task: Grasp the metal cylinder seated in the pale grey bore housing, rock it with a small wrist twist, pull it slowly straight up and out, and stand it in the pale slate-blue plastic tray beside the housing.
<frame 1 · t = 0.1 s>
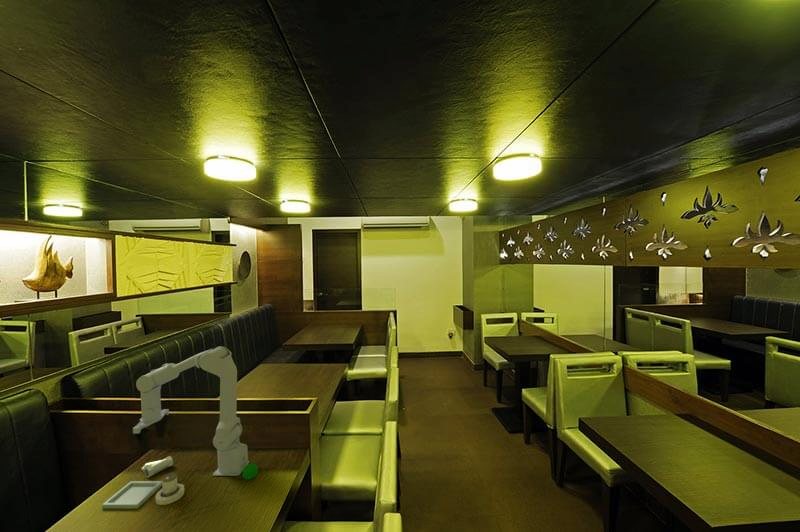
hand: (152, 443, 125), 10 cm above the table, tool pointing down, fingers open, 7 cm apart
polyhedron: (250, 478, 120), on the table
metal cylinder: (169, 486, 111), in the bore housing
pipe fitting: (156, 471, 126), on the table
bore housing: (170, 496, 111), on the table
tray: (133, 496, 112), on the table
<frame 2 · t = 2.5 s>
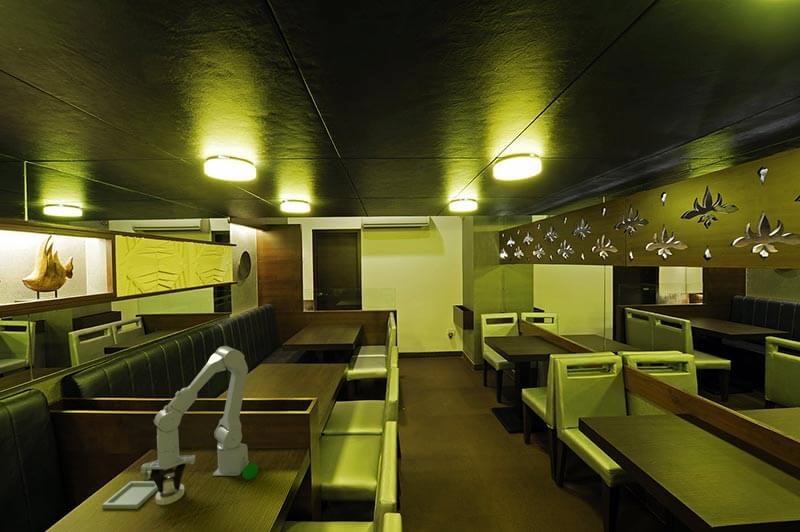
hand: (170, 489, 111), 2 cm above the table, tool pointing down, fingers closed on metal cylinder, 4 cm apart
metal cylinder: (169, 486, 111), in the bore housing, touching gripper
pipe fitting: (156, 473, 124), on the table
everything else where it was.
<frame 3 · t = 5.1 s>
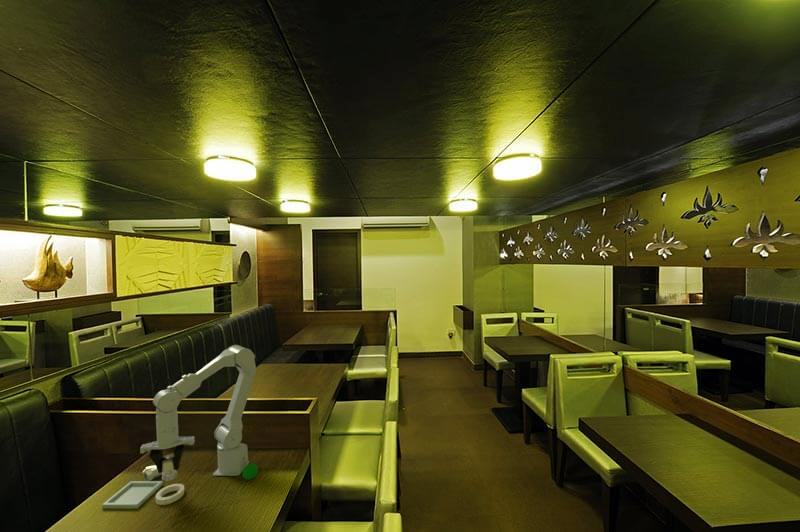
hand: (169, 469, 111), 9 cm above the table, tool pointing down, fingers closed on metal cylinder, 4 cm apart
metal cylinder: (169, 467, 111), point 10 cm above the table, touching gripper
pipe fitting: (157, 475, 123), on the table
everything else where it was.
when the fingers open (4 cm above the table, at t = 8.0 s): metal cylinder drops 1 cm, resting on tray.
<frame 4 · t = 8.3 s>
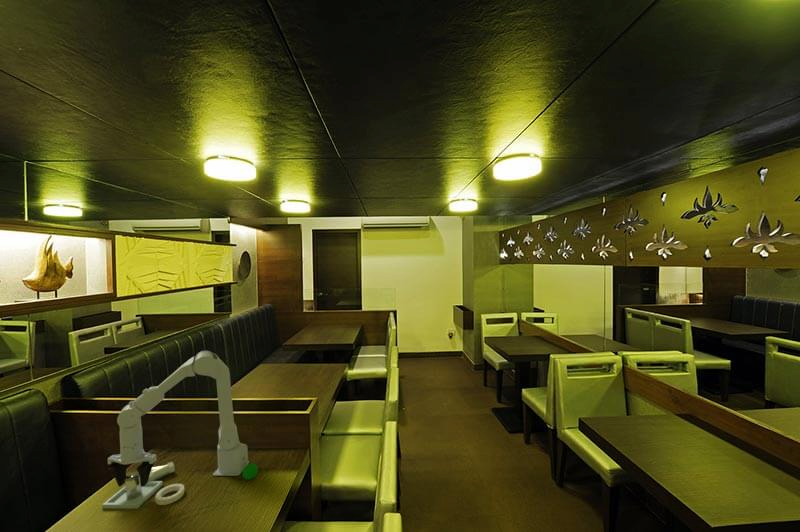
hand: (133, 484, 112), 4 cm above the table, tool pointing down, fingers open, 7 cm apart
metal cylinder: (133, 485, 111), in the tray
pipe fitting: (158, 476, 122), on the table
everything else where it was.
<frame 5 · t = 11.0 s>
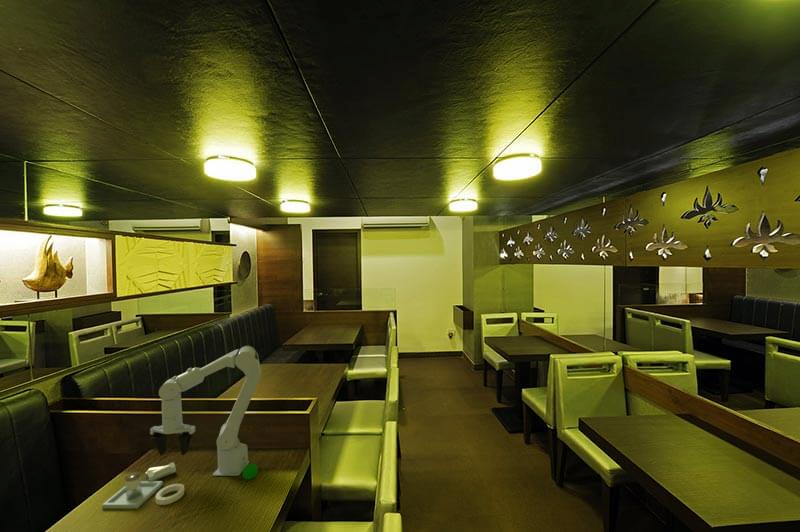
hand: (173, 453, 119), 9 cm above the table, tool pointing down, fingers open, 7 cm apart
at the end: metal cylinder inside the target area on the tray (0.1 cm from its centre), point 3.7 cm above the tray's base; metal cylinder tilted 2°; the gripper is holding nothing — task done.
